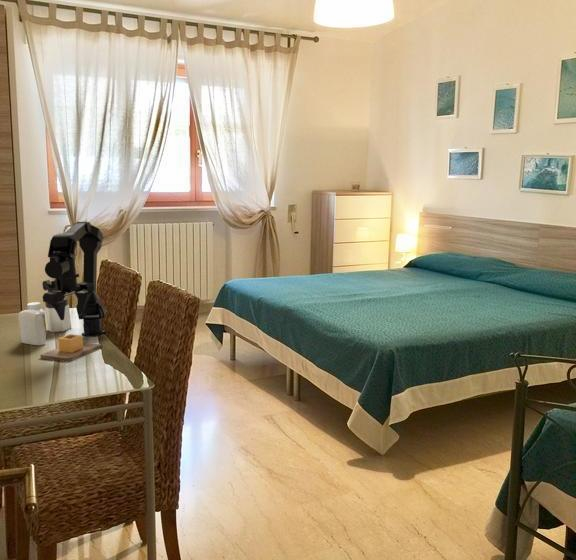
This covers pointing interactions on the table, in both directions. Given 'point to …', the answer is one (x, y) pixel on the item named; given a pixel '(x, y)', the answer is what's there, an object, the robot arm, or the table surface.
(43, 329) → the white flat bottle
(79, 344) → the orange square block
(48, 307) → the jar
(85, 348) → the peg board
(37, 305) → the supplement bottle
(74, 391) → the table surface
